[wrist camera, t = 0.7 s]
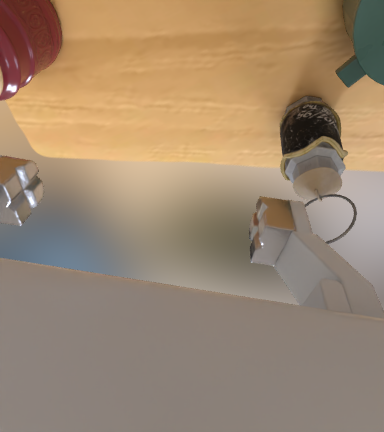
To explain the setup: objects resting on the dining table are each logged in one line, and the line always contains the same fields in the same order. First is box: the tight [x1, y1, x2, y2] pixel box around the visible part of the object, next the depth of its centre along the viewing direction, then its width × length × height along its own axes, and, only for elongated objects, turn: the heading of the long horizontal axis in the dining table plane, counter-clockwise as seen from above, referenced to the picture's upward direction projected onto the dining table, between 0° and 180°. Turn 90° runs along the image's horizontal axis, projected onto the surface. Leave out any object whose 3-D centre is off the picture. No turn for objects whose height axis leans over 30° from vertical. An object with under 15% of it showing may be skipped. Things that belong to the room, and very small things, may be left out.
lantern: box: [280, 96, 357, 244], centre depth 37 cm, size 9×8×25 cm
